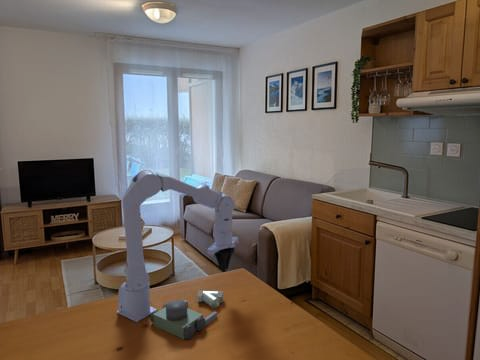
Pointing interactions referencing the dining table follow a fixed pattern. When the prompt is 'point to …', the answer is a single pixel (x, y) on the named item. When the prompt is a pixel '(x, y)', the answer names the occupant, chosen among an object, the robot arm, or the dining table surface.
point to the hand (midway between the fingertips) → (223, 269)
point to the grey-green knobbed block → (180, 319)
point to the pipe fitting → (211, 297)
